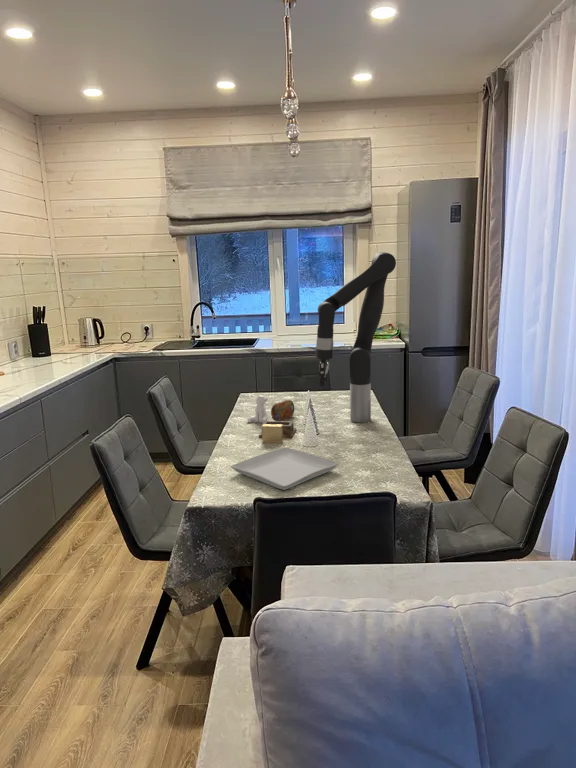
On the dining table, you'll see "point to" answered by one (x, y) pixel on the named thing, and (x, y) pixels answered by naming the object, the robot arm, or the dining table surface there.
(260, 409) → the sitting furry creature
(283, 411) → the tin
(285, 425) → the slotted block
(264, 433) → the tan wooden block
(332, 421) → the dining table surface
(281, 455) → the square plate
